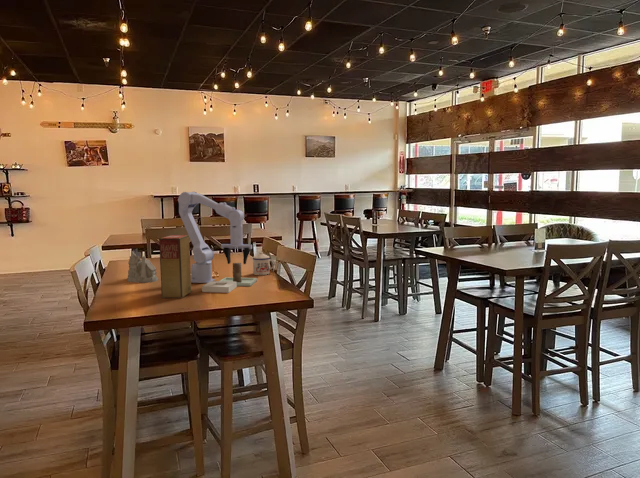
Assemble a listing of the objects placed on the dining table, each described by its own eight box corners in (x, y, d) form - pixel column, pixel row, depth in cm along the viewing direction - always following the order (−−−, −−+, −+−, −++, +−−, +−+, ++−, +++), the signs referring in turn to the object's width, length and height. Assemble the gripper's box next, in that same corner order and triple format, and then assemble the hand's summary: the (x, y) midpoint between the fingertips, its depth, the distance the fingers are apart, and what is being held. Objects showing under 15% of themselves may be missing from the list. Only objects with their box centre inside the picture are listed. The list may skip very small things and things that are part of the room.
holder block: (202, 291, 206) (202, 286, 206) (211, 286, 218) (211, 280, 218) (228, 292, 205) (228, 287, 205) (236, 286, 217) (236, 281, 217)
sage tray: (217, 285, 220) (217, 282, 220) (225, 280, 232) (224, 277, 232) (250, 286, 218) (250, 283, 218) (256, 281, 230) (256, 278, 230)
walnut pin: (231, 282, 223) (231, 264, 222) (234, 281, 227) (234, 262, 226) (239, 283, 223) (239, 264, 222) (242, 281, 227) (242, 262, 226)
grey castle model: (148, 283, 224) (147, 251, 224) (120, 282, 229) (119, 251, 228) (168, 279, 239) (167, 249, 238) (141, 278, 244) (140, 249, 243)
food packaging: (171, 291, 208) (169, 234, 205) (192, 291, 208) (190, 234, 205) (160, 298, 195) (158, 238, 192) (182, 298, 195) (180, 238, 192)
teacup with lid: (255, 275, 244) (254, 253, 242) (251, 272, 252) (250, 251, 251) (277, 274, 248) (277, 252, 247) (272, 271, 256) (272, 250, 255)
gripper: (218, 235, 219) (219, 264, 221) (249, 236, 218) (249, 265, 219) (223, 234, 226) (224, 262, 228) (253, 234, 225) (253, 263, 226)
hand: (236, 263), depth 224 cm, fingers open, 7 cm apart
